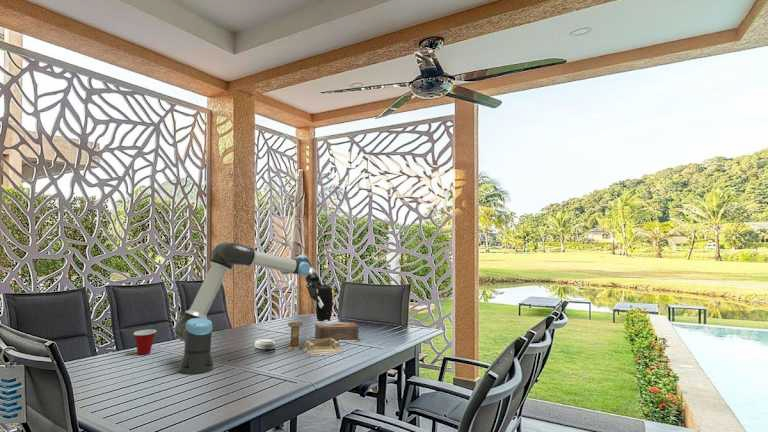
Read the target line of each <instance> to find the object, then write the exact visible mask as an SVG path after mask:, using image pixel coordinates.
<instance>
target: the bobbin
mask: <svg viewBox="0 0 768 432" xmlns="http://www.w3.org/2000/svg"><path fill="white" fill-rule="evenodd" d="M287 324H288V325H287V326H289V327H290V344H288V345H287V346H286V349H287V348H291V349H295V348H300V347H303V346H302V344H299V343H300V327H303V326H304V325H303V322H300V321H299V322H298V321H291V322H288V323H287ZM291 349H290V350H291Z"/></svg>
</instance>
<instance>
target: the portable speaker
mask: <svg viewBox="0 0 768 432" xmlns="http://www.w3.org/2000/svg"><path fill="white" fill-rule="evenodd" d="M332 293H333V289H332V287H331V286H330V285H329V286H328V285H327V286H324V287H320V286H319V287H318V289H317V297H318V296H319V298H320V299H321V301H322V303H323V304H324V306H323V307H322V308H320V307H319V305H318V303H317V302H316V301H315V302H316V303H315V313H316V320H317V322H325V321H327V322H330V321H331V319H332V313H333V307H332V302H333V300H334V298H333V297H334V296H333V294H332Z"/></svg>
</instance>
